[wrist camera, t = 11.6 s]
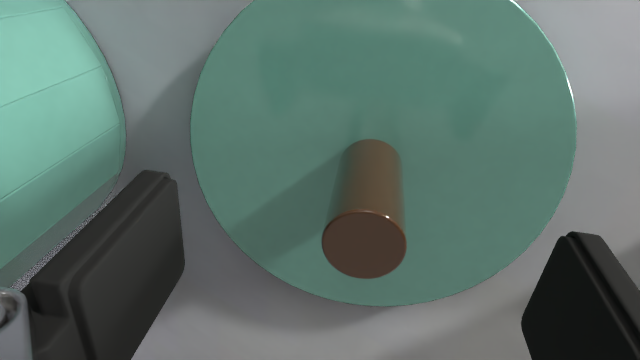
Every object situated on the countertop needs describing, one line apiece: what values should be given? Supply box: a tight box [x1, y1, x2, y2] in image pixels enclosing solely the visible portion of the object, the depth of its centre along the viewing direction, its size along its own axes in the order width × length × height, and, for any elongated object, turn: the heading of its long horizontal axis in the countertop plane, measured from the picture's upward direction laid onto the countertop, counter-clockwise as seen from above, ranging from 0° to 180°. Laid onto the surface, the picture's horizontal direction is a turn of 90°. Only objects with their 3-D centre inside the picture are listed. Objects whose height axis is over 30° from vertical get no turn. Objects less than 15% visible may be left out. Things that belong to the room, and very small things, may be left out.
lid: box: [190, 0, 577, 307], centre depth 15 cm, size 14×14×6 cm
